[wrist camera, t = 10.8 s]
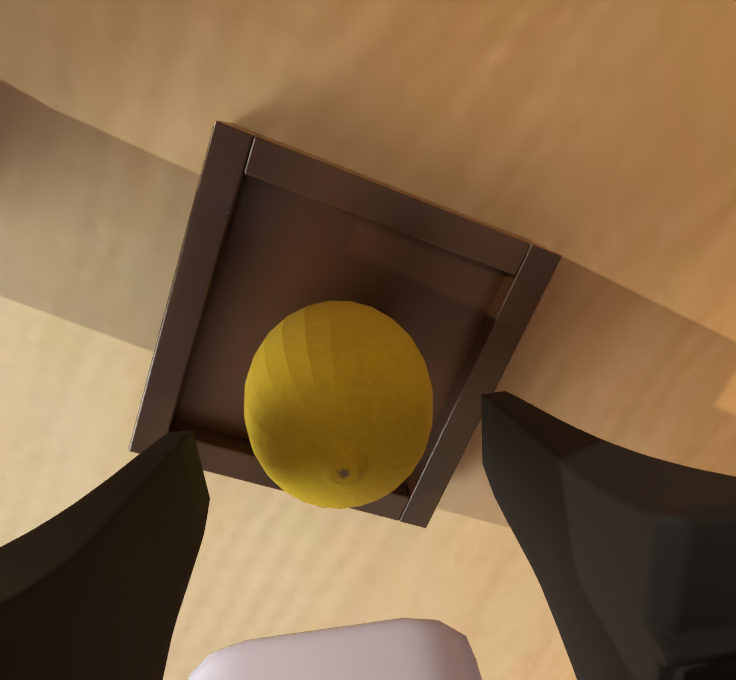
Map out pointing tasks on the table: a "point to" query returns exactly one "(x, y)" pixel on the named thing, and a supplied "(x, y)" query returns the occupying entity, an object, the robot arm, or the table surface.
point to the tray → (331, 283)
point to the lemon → (338, 404)
